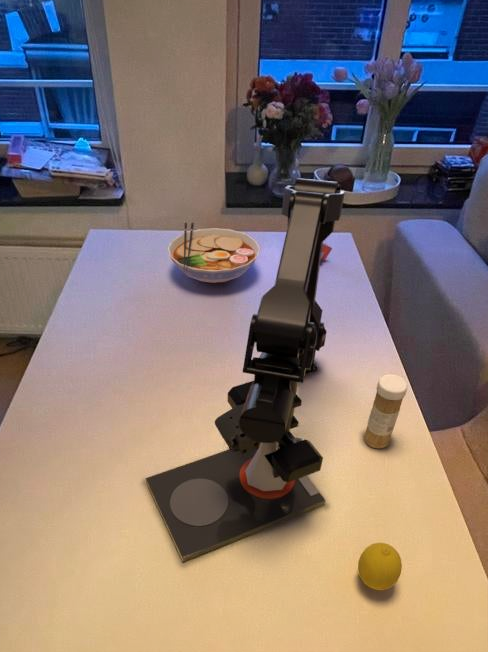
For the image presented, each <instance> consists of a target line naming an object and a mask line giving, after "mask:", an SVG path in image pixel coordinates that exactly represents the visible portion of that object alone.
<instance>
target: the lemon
mask: <svg viewBox="0 0 488 652" xmlns="http://www.w3.org/2000/svg"><path fill="white" fill-rule="evenodd" d="M402 568H403V564H402V558H401V555H400V553H399V552H398V551H397V549H396V548H395V547H394V546H392V545H391V544H388V543H385V542H375V543H372V544H370V545H368V546H367V547H366V548H365V549H363V551H362V553H360V556H359V559H358V563H357V571H358V575H359V577H360V579H361V581H362V582H363V583H364V584H365V585H366V586H367V587H368V588H370V589H372V590H376V591H384V590H388V589H390V588H392V587H393V586H395V584H396V583H397V582H398V581H399V579H400V577H401V575H402Z"/></svg>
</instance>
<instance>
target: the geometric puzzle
mask: <svg viewBox="0 0 488 652" xmlns="http://www.w3.org/2000/svg"><path fill="white" fill-rule="evenodd" d="M324 241H325V242H323V245H322V253H321V260H320V261H321V262H326V260H327V258H328V256H329V255H330V253H331V251H333V247H332V246H331V244H329V245H328V244H327V241H326V240H324Z"/></svg>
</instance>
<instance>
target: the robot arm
mask: <svg viewBox="0 0 488 652" xmlns="http://www.w3.org/2000/svg"><path fill="white" fill-rule="evenodd" d="M341 188H342V185H341V184H339V182H338V181H332V180H331V181H328V180H320V179H310V178H300V177H296V179H295V180H294V182H293V185H288V184H287V186H285V187H284V191H283V199H282V206H281V207H282V208H281V215H283V216H285V217H287V228H286V232H285V235H284V241H283V245H282V251H281V254H280V259H279V262H278V267H277V272H276V277H275V280H274V285H273V286H272V287H271V288H270V289H269V290H268V291H267V292H266V293H264V294H263V295H262V296H261V299H260V303H259V306H258V308H257V309H258V310H257V313H253V314H252V317H251V319H250V324H249V328H248V329H249V330H248V336H247V342H246V347H245V354H244V360H243V367H242V373H243V374H250V375H253V377H254V378H253V380H251V381H248V382H244V383H241V384H238V385H234V386H232V387H231V389H229V390H228V392H227V403H228V404H229V406H230V407H231V408H230V409H229V410H228V411H226V412H224V413H222V414H220V415H219V416H217V417H216V419H214V425H215V427H216V429H217V431H218V432H219V434H220V436H221V437H222V439H223V441H224V442H225V444H226V445H227V447H228V449H230V450H231V451H232V452H234V453H236V452H238V451H240V452H241V454H242V455H246V454H248V453H250V452H251V451H253V450H255V449H256V451H257V450H258V448H259V446H260V443H274V442H276V441H277V442H278V444H279V445H278V447H277V449H278V450H276V451H275V452H272V453H269V454H267V455H264V456H265V457H266V459H267V460H268V462H269V463H270V465H271V466H272V469H273V476H274V478H277V477H279V476H280V477H281V479H282V480H283V481H285V482H288V483H289V482H291V481H294V480H296V479H299V478H302V477H304V476H309V475H312V474H314V473H318V472H319V471H321V469H322V466H323V465H322V464H323V461H324V457H323V456H322V455H321V453H320V452H319V451H318V449H317V448H316V447H315V446H314V444H313V443H312V442H311V441H309V440H308V439H302V438H301V437H299V436H295V435H294V434H293V433H292V432H291V430H292V429H295V428H299V420H298V419H297V418H296V417H295V415H294V414H295V409H296V408H299V407H301V406H302V402H303V401H302V399H301V398H300V396H299V395H298V394H297V392H298V384H299V383H302V384H303V383H304V379H305V376H306V375H308V374H311V373H314V372H318V370H319V367H318V366H317V365H316V364H315V359H316V353H317V352H320V349H321V348H322V347H325V344H326V338H327V330H326V328H325V322H323V321H322V316H323V309H322V308H321V306H320V305H319V303H318V302H317V301H316V298H317V290H318V283H319V282H318V281H319V275H320V267H321V261H322V260H321V253H322V245H323V244H324V241H326V239H328V238H329V236H330V235H332V233H333V232H334V228H335V225H336V221H340V219H341V216H342V210H343V205H344V200H345V193H346V192H345V190H341ZM255 347H256V348H255ZM254 348H255V349H256V352H257V353H261V354H260V355H259V356H258V357H256V356H254V357H253V354H254Z"/></svg>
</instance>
